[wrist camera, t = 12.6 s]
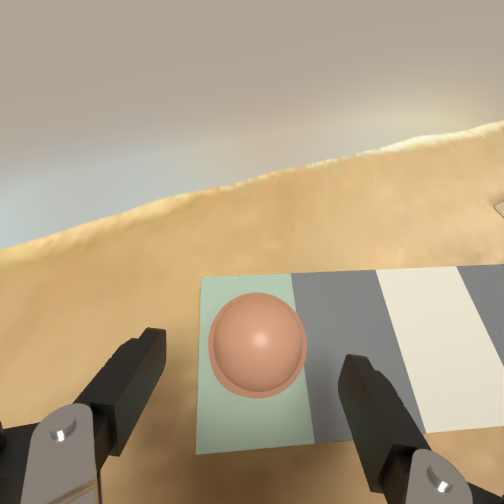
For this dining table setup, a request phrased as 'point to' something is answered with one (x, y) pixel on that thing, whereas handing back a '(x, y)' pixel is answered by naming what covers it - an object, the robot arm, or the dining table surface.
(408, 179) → the dining table surface
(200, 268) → the dining table surface
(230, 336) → the pawn
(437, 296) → the board
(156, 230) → the dining table surface
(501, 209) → the die
